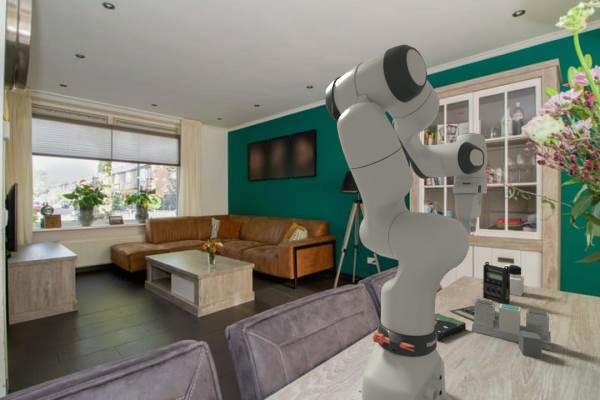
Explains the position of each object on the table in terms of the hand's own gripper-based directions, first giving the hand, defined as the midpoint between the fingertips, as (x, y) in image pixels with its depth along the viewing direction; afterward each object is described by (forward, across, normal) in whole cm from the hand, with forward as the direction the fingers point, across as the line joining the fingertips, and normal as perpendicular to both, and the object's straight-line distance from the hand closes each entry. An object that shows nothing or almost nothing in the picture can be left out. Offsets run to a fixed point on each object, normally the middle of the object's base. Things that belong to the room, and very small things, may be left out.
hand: (469, 233), depth 91 cm
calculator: (+32, -20, 0) cm, 37 cm away
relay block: (+31, +2, +15) cm, 35 cm away
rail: (+31, -6, +10) cm, 33 cm away
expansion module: (+29, -6, +10) cm, 31 cm away
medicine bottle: (+31, -57, +8) cm, 66 cm away
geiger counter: (+31, -40, +3) cm, 51 cm away
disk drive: (+32, +2, -8) cm, 33 cm away
